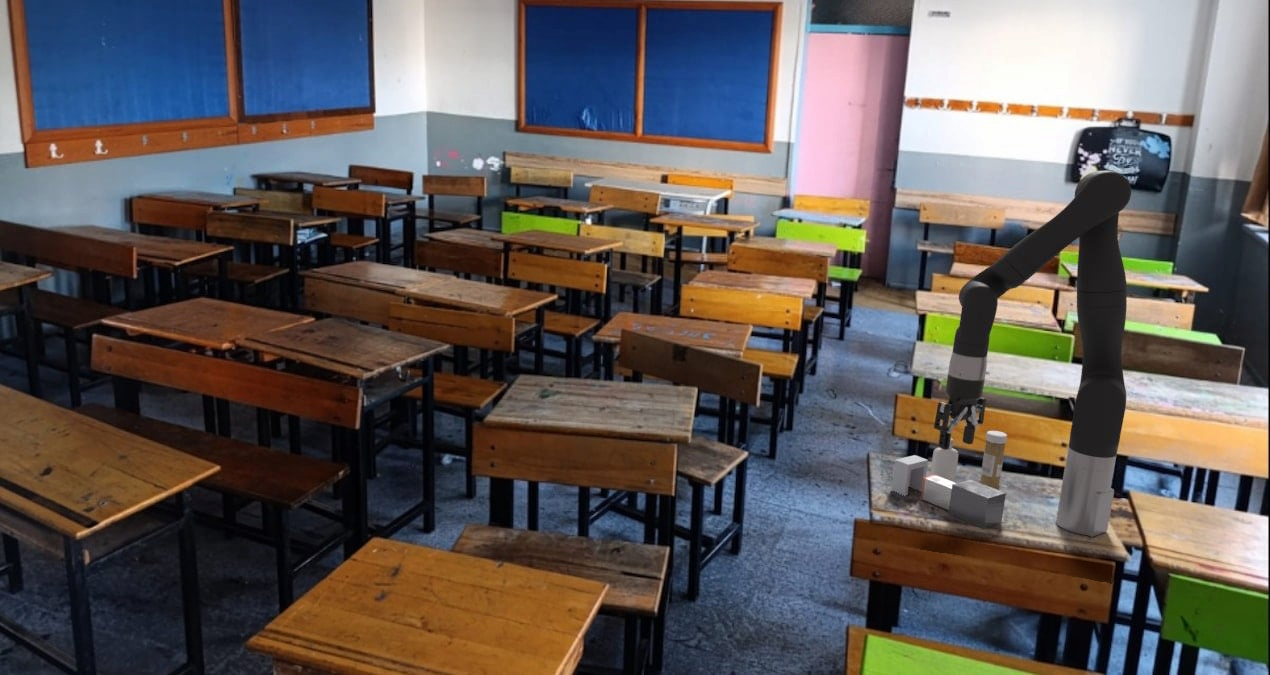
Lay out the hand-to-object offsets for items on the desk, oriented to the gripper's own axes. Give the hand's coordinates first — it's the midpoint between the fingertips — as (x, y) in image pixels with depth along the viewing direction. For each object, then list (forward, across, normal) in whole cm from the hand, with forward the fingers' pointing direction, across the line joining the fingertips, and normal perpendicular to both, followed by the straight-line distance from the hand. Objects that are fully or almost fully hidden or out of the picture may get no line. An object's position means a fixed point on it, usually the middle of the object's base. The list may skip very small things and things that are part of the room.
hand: (955, 445), depth 208 cm
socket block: (+14, 0, +11) cm, 18 cm away
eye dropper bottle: (+14, +13, +11) cm, 22 cm away
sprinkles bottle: (+14, +20, +3) cm, 25 cm away
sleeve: (+14, 0, -7) cm, 16 cm away
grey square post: (+14, 0, -2) cm, 14 cm away
